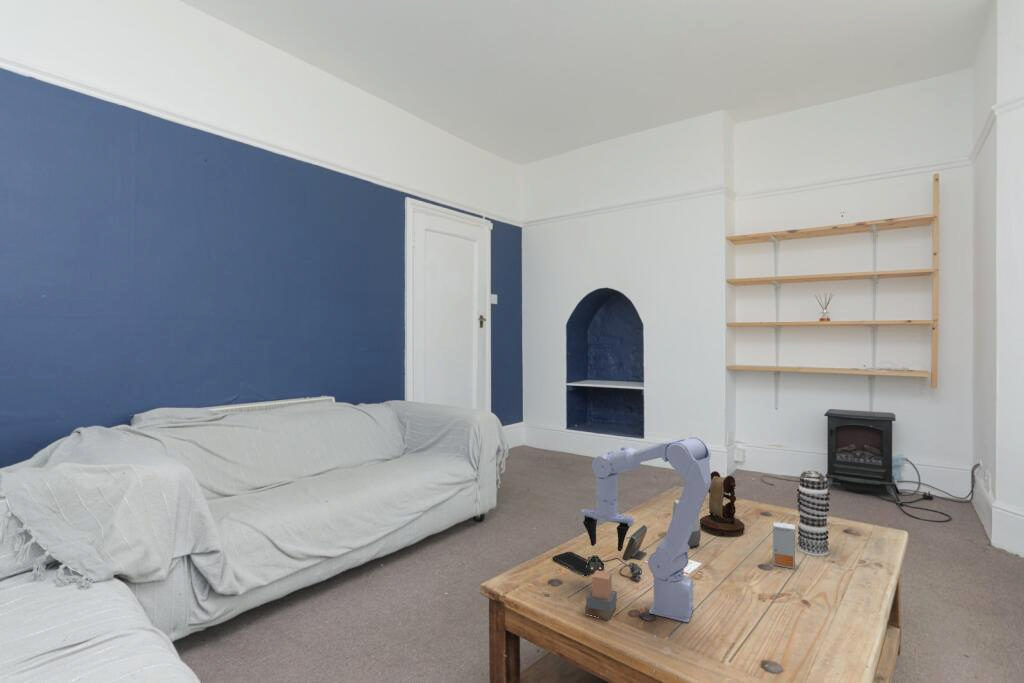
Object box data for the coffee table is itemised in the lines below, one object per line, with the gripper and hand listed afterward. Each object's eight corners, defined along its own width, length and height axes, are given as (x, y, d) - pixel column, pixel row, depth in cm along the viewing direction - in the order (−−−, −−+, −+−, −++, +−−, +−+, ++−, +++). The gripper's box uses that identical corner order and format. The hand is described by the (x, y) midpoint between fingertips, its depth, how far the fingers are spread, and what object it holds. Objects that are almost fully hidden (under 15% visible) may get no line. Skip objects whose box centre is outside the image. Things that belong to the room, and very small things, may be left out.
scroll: (690, 526, 191) (690, 471, 190) (721, 519, 197) (721, 466, 197) (722, 540, 177) (722, 481, 177) (754, 533, 184) (754, 476, 183)
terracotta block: (611, 592, 132) (611, 572, 132) (608, 599, 129) (608, 579, 129) (595, 589, 134) (595, 569, 134) (592, 596, 130) (592, 576, 130)
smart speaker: (704, 549, 170) (704, 506, 170) (675, 549, 170) (675, 506, 170) (695, 538, 179) (695, 497, 179) (667, 538, 180) (667, 497, 179)
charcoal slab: (616, 601, 133) (616, 591, 133) (610, 612, 127) (610, 602, 127) (593, 596, 136) (593, 586, 135) (586, 606, 130) (586, 596, 130)
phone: (569, 551, 167) (604, 567, 155) (569, 554, 167) (604, 571, 155) (550, 557, 163) (584, 574, 150) (550, 561, 163) (585, 578, 151)
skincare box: (772, 565, 158) (772, 525, 158) (772, 560, 162) (772, 521, 161) (795, 569, 155) (795, 529, 155) (795, 564, 159) (795, 524, 159)
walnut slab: (616, 610, 133) (616, 600, 133) (609, 622, 128) (609, 612, 128) (593, 605, 136) (593, 595, 136) (585, 616, 130) (585, 606, 130)
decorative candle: (828, 559, 162) (828, 478, 162) (794, 551, 168) (794, 473, 167) (831, 549, 169) (831, 472, 169) (799, 542, 175) (799, 467, 175)
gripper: (576, 498, 146) (576, 547, 146) (628, 506, 139) (628, 557, 139) (585, 491, 152) (585, 538, 152) (635, 499, 145) (635, 548, 145)
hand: (606, 547), depth 146 cm, fingers open, 7 cm apart
